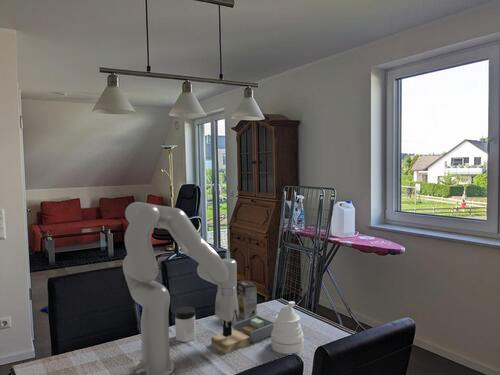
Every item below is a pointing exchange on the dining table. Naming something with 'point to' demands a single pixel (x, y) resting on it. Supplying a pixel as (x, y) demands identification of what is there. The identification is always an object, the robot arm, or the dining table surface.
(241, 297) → the coffee box
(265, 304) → the dining table surface
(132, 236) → the robot arm
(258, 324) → the tile far
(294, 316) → the honey pot
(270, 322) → the tray
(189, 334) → the jar
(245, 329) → the tile near
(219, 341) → the board
